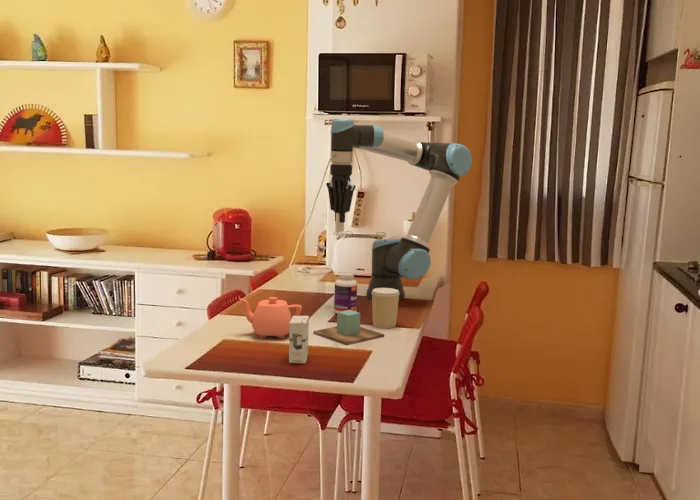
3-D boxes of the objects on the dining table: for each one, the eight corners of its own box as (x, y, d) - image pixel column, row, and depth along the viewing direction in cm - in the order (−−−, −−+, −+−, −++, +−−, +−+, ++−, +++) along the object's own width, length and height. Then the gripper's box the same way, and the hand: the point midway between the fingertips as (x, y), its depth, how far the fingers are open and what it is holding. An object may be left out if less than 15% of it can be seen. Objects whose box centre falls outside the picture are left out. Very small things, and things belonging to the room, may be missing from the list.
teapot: (240, 328, 246) (241, 292, 244) (302, 329, 246) (303, 293, 244) (235, 340, 232) (235, 301, 230) (300, 341, 233) (301, 303, 231)
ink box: (291, 353, 220) (292, 314, 218) (308, 354, 220) (309, 315, 218) (288, 363, 211) (288, 322, 210) (305, 363, 211) (306, 322, 209)
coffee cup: (401, 323, 258) (402, 289, 256) (393, 330, 249) (395, 294, 247) (375, 320, 261) (376, 286, 259) (366, 327, 252) (368, 291, 250)
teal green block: (348, 329, 245) (349, 309, 244) (359, 333, 241) (360, 313, 240) (336, 332, 241) (337, 312, 240) (347, 335, 238) (348, 315, 237)
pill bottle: (353, 316, 265) (355, 276, 262) (331, 315, 266) (332, 275, 264) (358, 311, 273) (359, 272, 270) (336, 309, 274) (337, 270, 272)
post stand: (350, 325, 253) (350, 309, 252) (383, 336, 241) (384, 318, 240) (313, 333, 242) (313, 315, 241) (346, 345, 230) (346, 326, 229)
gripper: (320, 162, 263) (319, 229, 267) (345, 165, 254) (343, 234, 258) (337, 162, 268) (335, 228, 272) (362, 164, 259) (359, 232, 263)
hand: (339, 231), depth 265 cm, fingers closed
